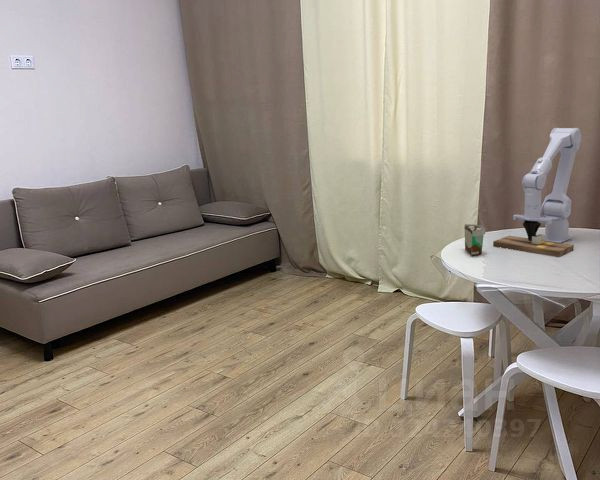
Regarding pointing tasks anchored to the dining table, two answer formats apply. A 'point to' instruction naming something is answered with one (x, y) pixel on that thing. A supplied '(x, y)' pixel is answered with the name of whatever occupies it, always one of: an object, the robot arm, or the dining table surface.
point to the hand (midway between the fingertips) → (531, 240)
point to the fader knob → (538, 239)
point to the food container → (474, 239)
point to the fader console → (534, 246)
